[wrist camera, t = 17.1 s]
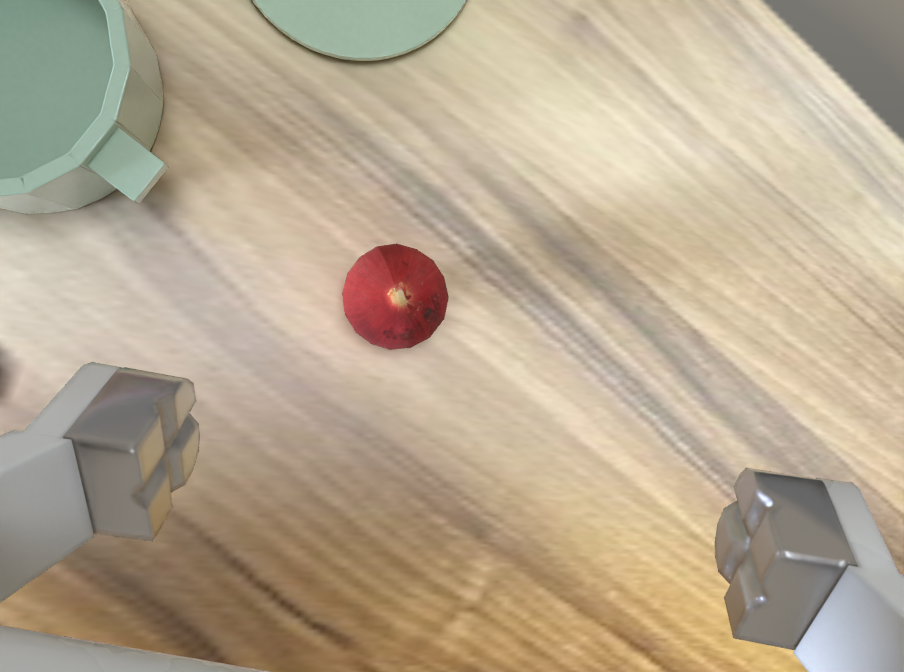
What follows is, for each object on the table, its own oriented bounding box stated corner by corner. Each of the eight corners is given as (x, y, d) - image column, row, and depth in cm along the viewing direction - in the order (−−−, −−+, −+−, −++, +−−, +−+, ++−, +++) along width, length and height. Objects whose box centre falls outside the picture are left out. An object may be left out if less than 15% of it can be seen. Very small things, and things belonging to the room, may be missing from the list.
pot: (103, 292, 43) (55, 292, 36) (-201, 71, 40) (-322, 21, 33) (251, 107, 44) (234, 70, 36) (-37, -124, 41) (-119, -216, 33)
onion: (456, 287, 46) (482, 286, 38) (401, 363, 46) (415, 378, 38) (380, 229, 45) (390, 216, 37) (322, 306, 45) (320, 310, 37)
